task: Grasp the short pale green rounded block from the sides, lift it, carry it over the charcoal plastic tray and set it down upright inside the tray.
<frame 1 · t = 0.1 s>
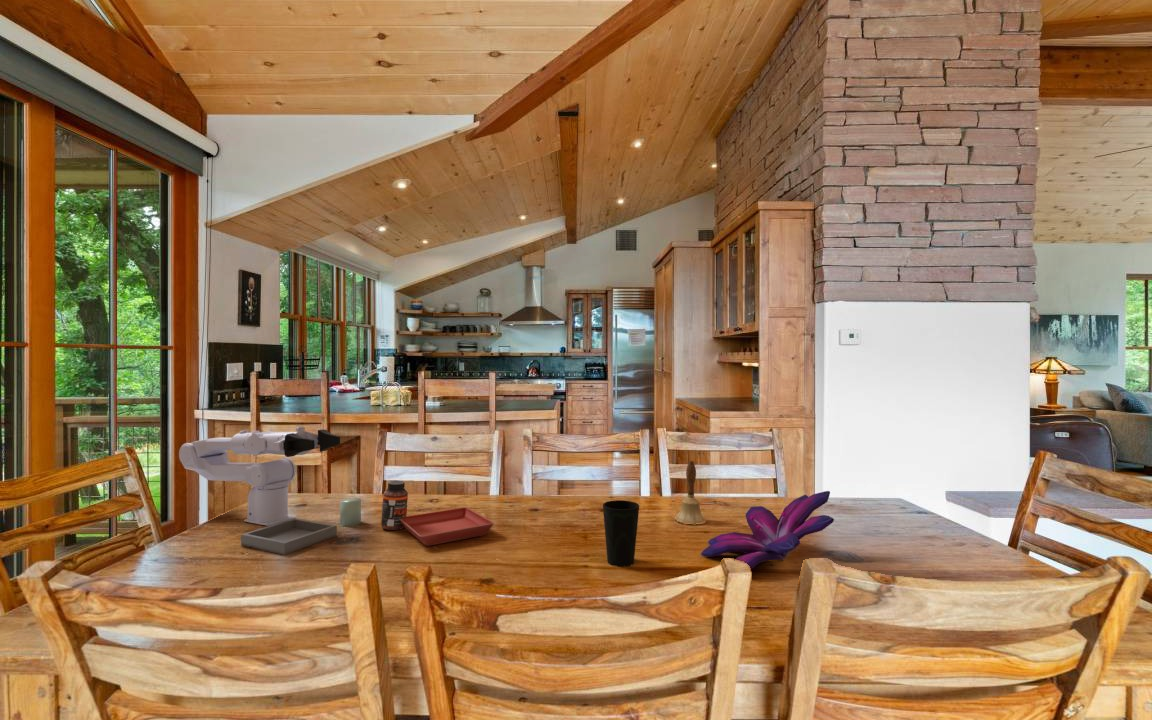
hand: (326, 442, 135), 22 cm above the table, tool horizontal, fingers open, 7 cm apart
supplement bottle: (393, 527, 137), on the table, touching plant saucer
cup: (620, 562, 115), on the table
plant saucer: (445, 534, 133), on the table, touching supplement bottle
pale green rounded block: (350, 523, 141), on the table
decorative flower: (766, 561, 117), on the table
hand bell: (690, 521, 145), on the table
tray: (290, 540, 127), on the table
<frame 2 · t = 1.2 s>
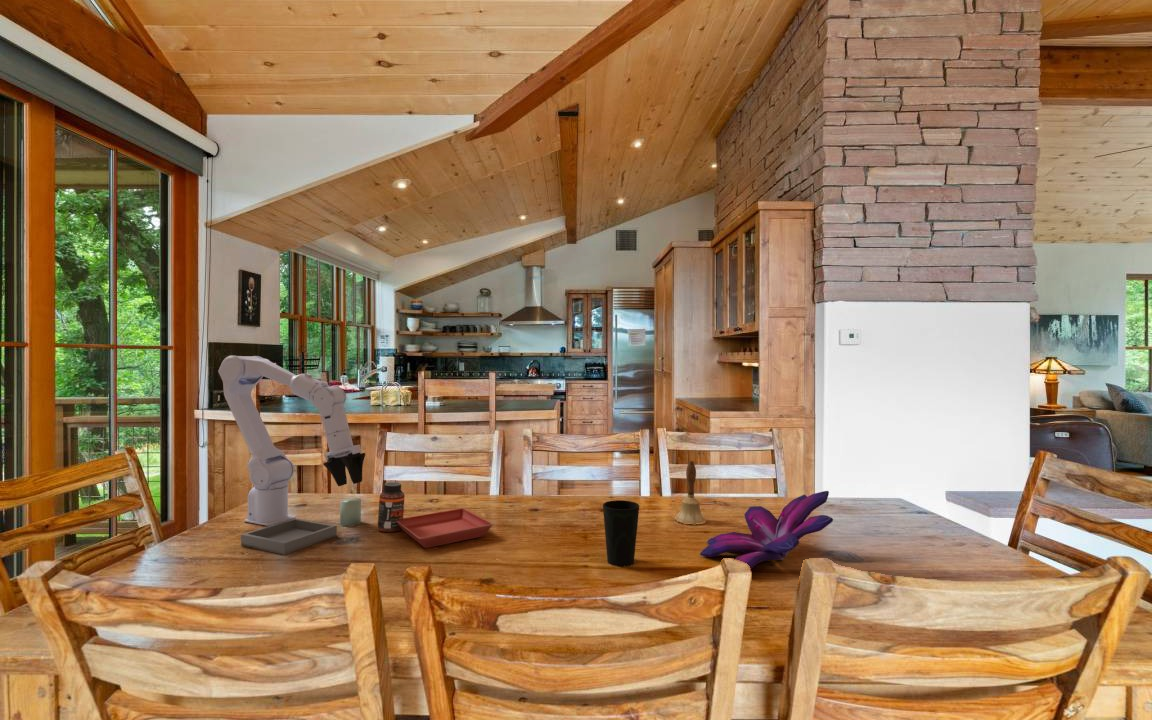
hand: (350, 484, 140), 10 cm above the table, tool tilted 15°, fingers open, 7 cm apart
supplement bottle: (390, 530, 136), on the table, touching plant saucer
plant saucer: (443, 535, 132), on the table, touching supplement bottle
everything else where it was.
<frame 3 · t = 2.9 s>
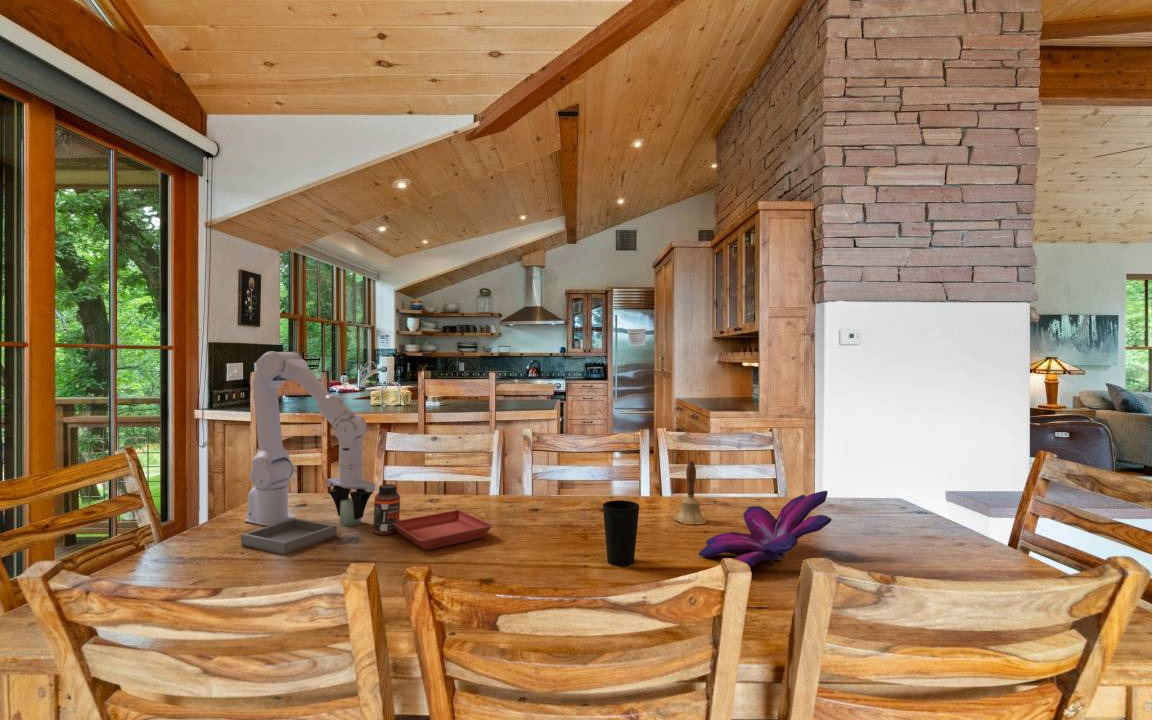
hand: (350, 516, 141), 2 cm above the table, tool pointing down, fingers closed on pale green rounded block, 5 cm apart
supplement bottle: (386, 532, 134), on the table, touching plant saucer
plant saucer: (441, 537, 131), on the table, touching supplement bottle
pale green rounded block: (350, 523, 141), on the table, touching gripper
everything else where it was.
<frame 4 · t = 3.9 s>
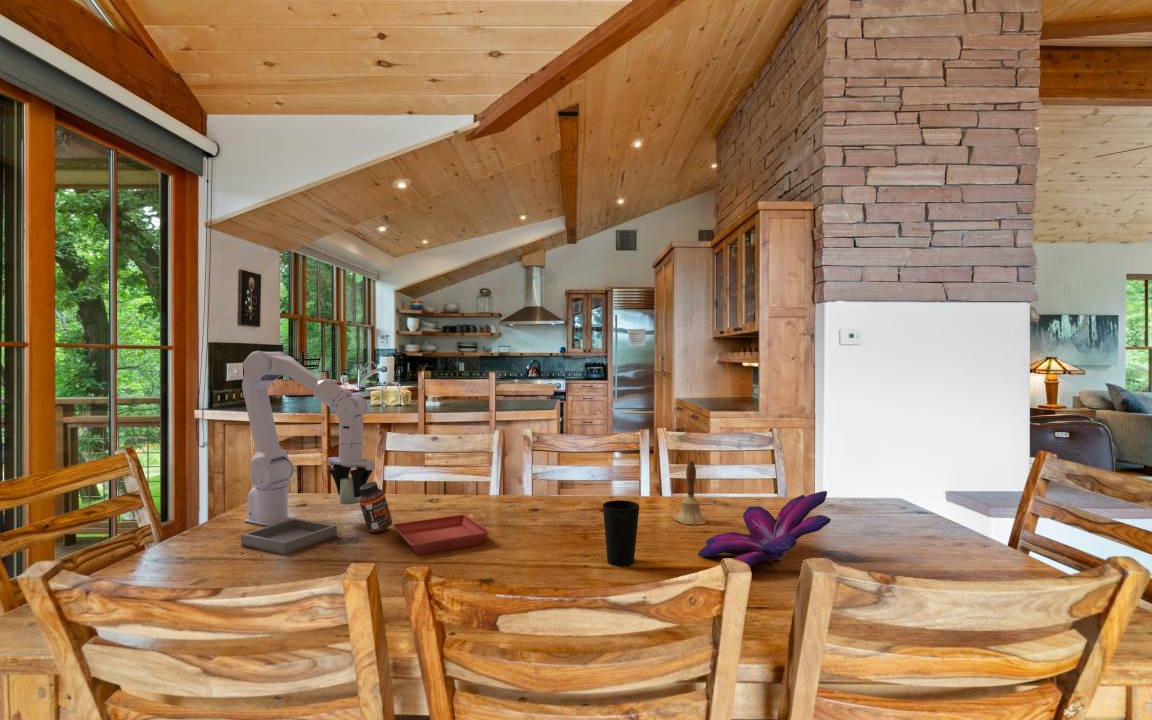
hand: (350, 495, 141), 7 cm above the table, tool pointing down, fingers closed on pale green rounded block, 5 cm apart
supplement bottle: (381, 528, 135), point 1 cm above the table
plant saucer: (440, 542, 128), on the table
pale green rounded block: (350, 501, 141), point 5 cm above the table, touching gripper
everything else where it was.
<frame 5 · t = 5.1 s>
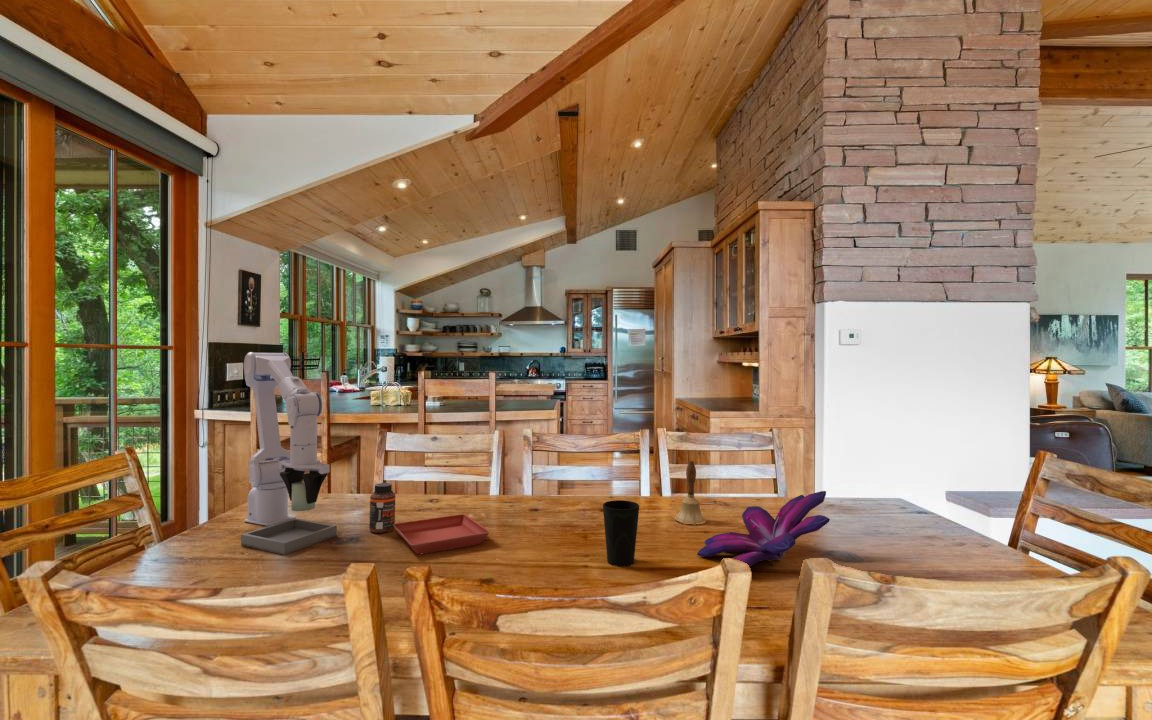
hand: (303, 501, 130), 8 cm above the table, tool pointing down, fingers closed on pale green rounded block, 5 cm apart
pale green rounded block: (303, 508, 130), point 7 cm above the table, touching gripper
when the fingers open (3 cm above the table, at t = 7.2 s): pale green rounded block stays where it is, resting on tray.
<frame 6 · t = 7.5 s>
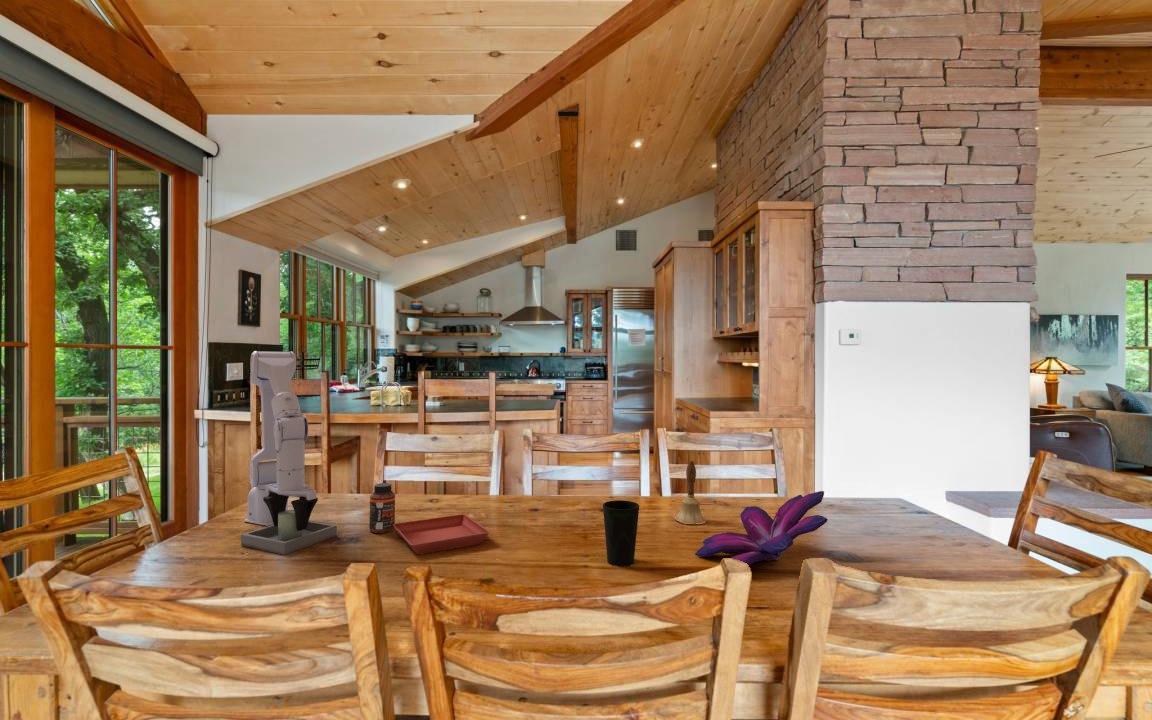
hand: (290, 527, 127), 3 cm above the table, tool pointing down, fingers open, 7 cm apart
pale green rounded block: (290, 538, 127), point 1 cm above the table, touching tray
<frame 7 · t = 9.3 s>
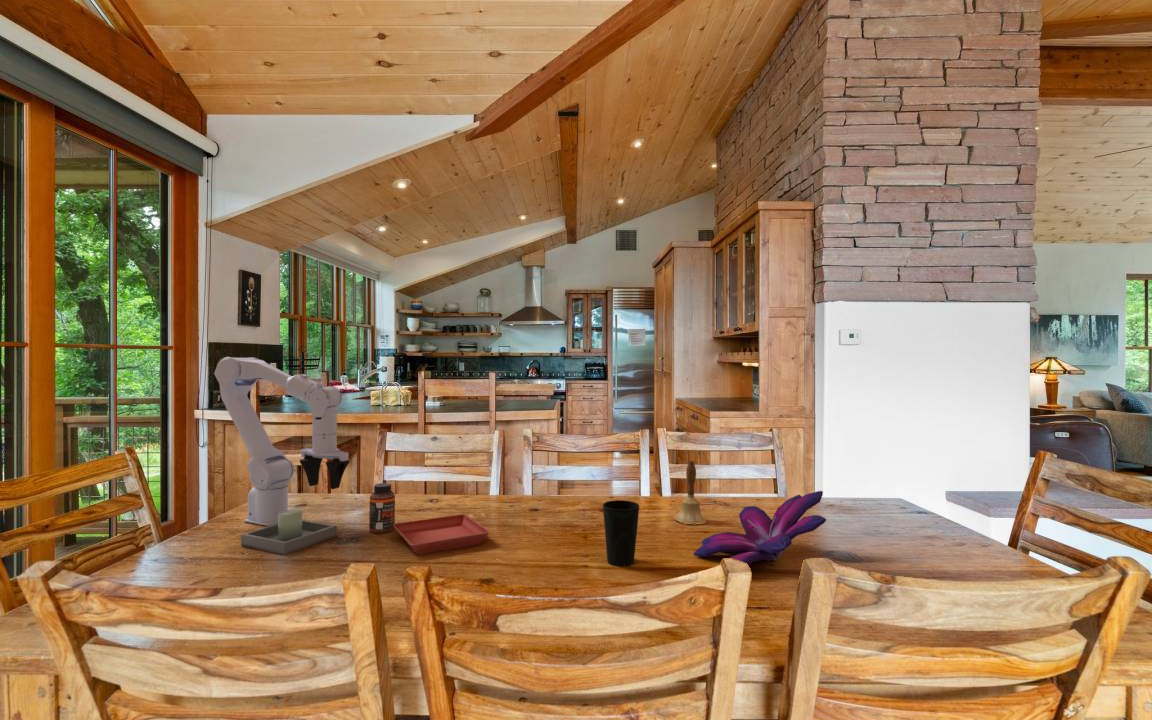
hand: (324, 486, 140), 9 cm above the table, tool pointing down, fingers open, 7 cm apart
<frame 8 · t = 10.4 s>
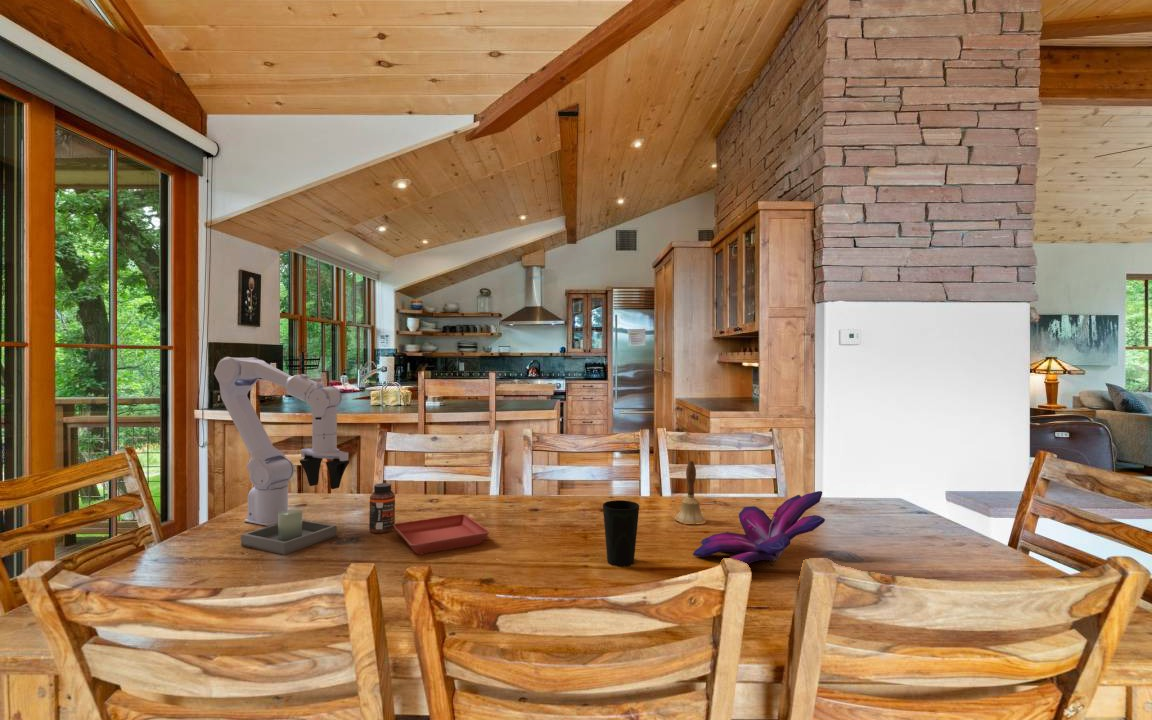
hand: (324, 486, 140), 9 cm above the table, tool pointing down, fingers open, 7 cm apart
at the end: pale green rounded block inside the target area on the tray (0.0 cm from its centre), point 0.5 cm above the tray's base; pale green rounded block tilted 1°; the gripper is holding nothing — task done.
